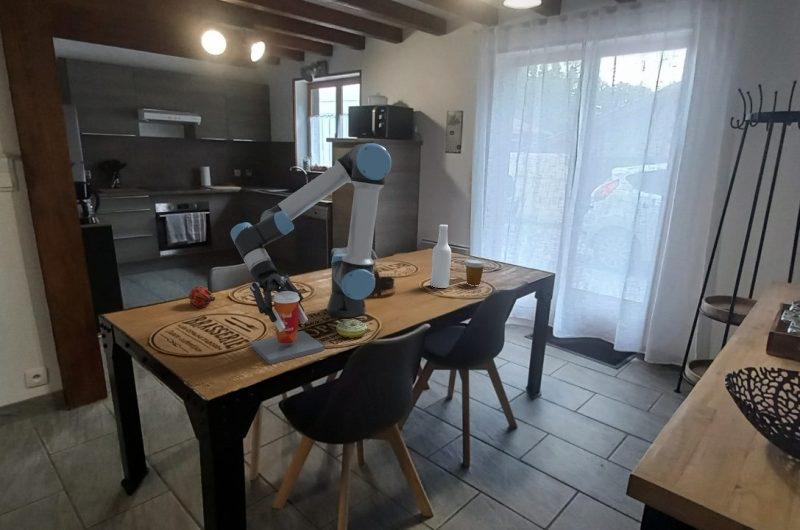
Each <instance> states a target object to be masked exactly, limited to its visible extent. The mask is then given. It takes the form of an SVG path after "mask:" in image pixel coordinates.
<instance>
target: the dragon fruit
mask: <svg viewBox="0 0 800 530" xmlns="http://www.w3.org/2000/svg"><path fill="white" fill-rule="evenodd" d="M213 296H214V295H213V294H212V292H211V291H210V290H209V288H208V287H204V286H202V285H197V286H195V287H193V288H192V289H191V290H190V293H189V294H188V299H189V303H190V305H191V306H196V307H197V308H198V309H205V307H204V306H210V305H211V304H212V302H214V301H215V300H216V296H214V297H213Z"/></svg>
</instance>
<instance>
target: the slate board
mask: <svg viewBox="0 0 800 530" xmlns="http://www.w3.org/2000/svg"><path fill="white" fill-rule="evenodd" d="M250 347H251V348H252V349H253V350H254V351H255V352H256V353H257V354H258V355H259V356H260V357H261V358H262V359H263V360H264V361H265V362H266V363H267V364H268V365H273V364H274V365H275V364H278V363H281V362H285V361H288V360H292V359H296V358H300V357H304V356H309V355H312V354H315V353H319V352H323V351H325V345H323V344H322V343H320V342H319V341H318V340H317V339H315V338H314V337H312V336H311V335H309V333H306V332H305V331H304V330H300V331H297V340H296V341H295V342H293V343H288V344H284V343H280V342H278V340H277V336H273V337H268V338H264V339H260V340H255V341H250Z"/></svg>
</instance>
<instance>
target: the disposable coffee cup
mask: <svg viewBox="0 0 800 530" xmlns="http://www.w3.org/2000/svg"><path fill="white" fill-rule="evenodd" d="M464 264H465V269H466V273H465V274H466V275H465V276H466V284H467V283H468V284H471V285H479V284H480V285H481V281H482V276H483V271H484V267H485V266H486V264H485V261H484V260H483V259H482V260H481V259H476V258H475V259H474V258H472V259H471V258H470V259H466V261H465V263H464Z"/></svg>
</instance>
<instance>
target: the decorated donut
mask: <svg viewBox="0 0 800 530" xmlns="http://www.w3.org/2000/svg"><path fill="white" fill-rule="evenodd" d="M335 326H336V327H335V328H336V329H335V330H336V332H337V334H338V335H339V336H341V337H342V336H343V338H346V337H349V338H348V339H355V338H354V337H356V338H360V337H362V336H364V335H365V333H366V331H367V330H368V326H367V324H366V323H364V322H363V321H361V320H357V319H349V320H343V321H341V322H338V324H337V325H335Z"/></svg>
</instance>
